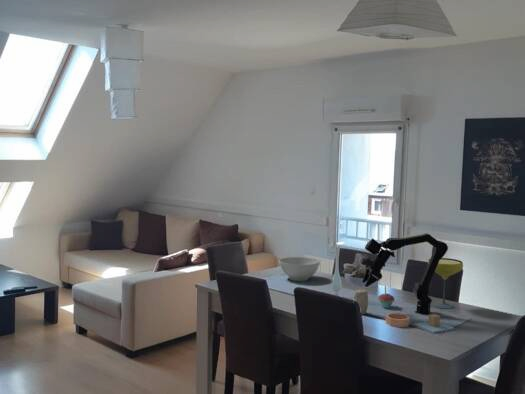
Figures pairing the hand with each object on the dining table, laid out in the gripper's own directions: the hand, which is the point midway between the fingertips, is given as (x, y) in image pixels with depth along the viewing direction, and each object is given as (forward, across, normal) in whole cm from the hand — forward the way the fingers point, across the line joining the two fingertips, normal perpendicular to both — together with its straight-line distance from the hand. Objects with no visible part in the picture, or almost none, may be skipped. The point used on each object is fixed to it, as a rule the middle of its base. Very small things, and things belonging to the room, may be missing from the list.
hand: (364, 284), depth 286 cm
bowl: (+6, +19, +19) cm, 28 cm away
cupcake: (+5, -12, +20) cm, 24 cm away
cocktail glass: (-12, -15, +47) cm, 51 cm away
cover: (-4, +24, +33) cm, 41 cm away
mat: (-3, +24, +33) cm, 41 cm away
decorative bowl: (+29, -74, -18) cm, 81 cm away
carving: (+14, +1, +6) cm, 15 cm away
